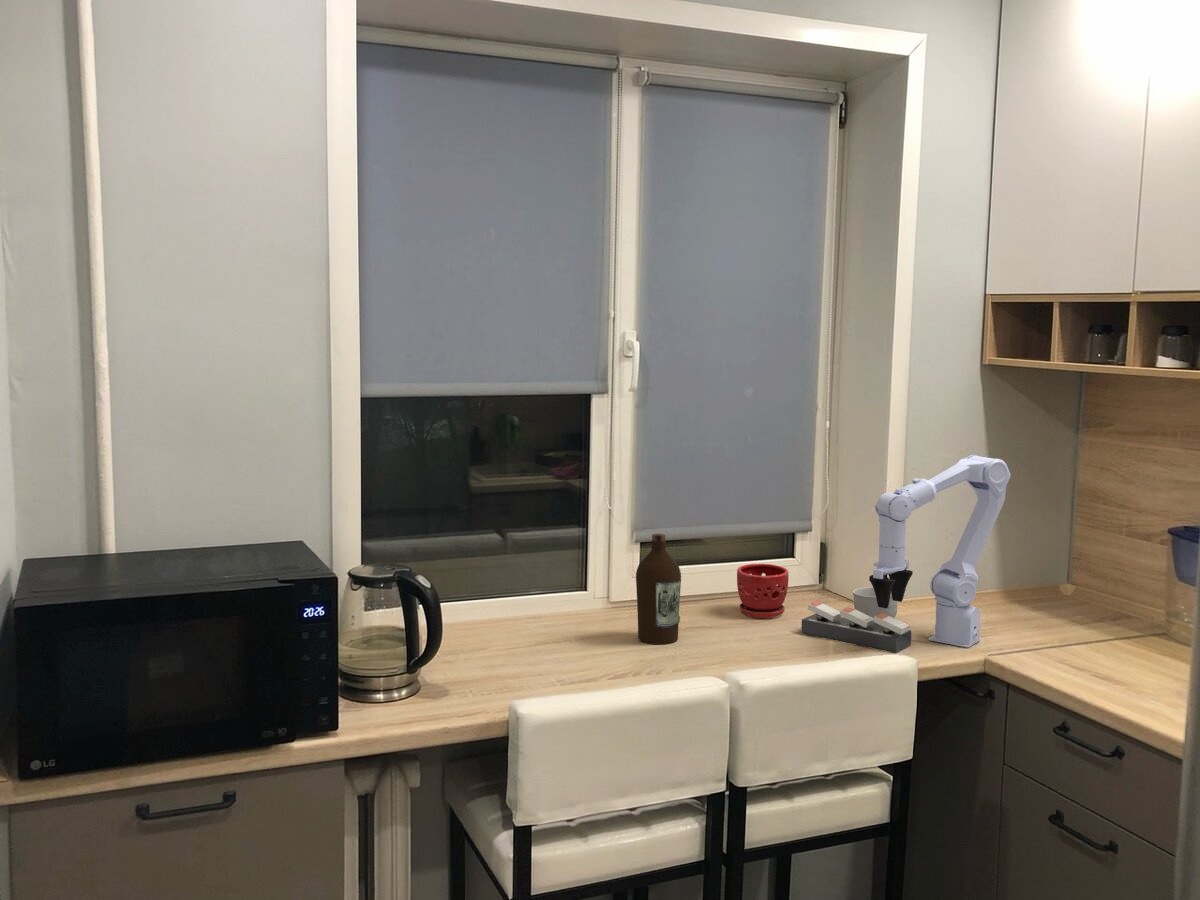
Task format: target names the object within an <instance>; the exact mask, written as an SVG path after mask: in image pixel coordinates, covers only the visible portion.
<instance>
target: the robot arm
mask: <svg viewBox="0 0 1200 900" xmlns="http://www.w3.org/2000/svg"><path fill="white" fill-rule="evenodd" d="M1011 475H1012V474H1011V472H1010V470H1009V468H1008V465H1007V463H1006V462H1005V461H1004V460H1002V459H1001V458H992V457H984V456H979V455H976V454H971V455H968V456H966V457H964V458H961V459H960V460H958V462H957V463H955V464H954V465H952V466H950V467H949V468H947V469H945V470H943V471H941V472H940V473H938V474H936V475H935V476H934V477H932V478H930V479H926V478H923V477H921V478H917V477H915V478H914V479H912V481H911V483H909V484H907V485H905V486H903V487H898V488H895V491H893V492H885V493H883V494H881V495H880V496H879V498H878V499H877V501H876V504H874V510H875V512H876V513H877V515H878V522H879V533H878V535H879V537H878V561H876V562H873V566H874V567H875V568H874V569H873V573H872V575H869V578H868V579H869V582H870V584H871V587H873V588H874V591H875V595H876V599H877V604H878V607H881V608H888V606H889V601H890V594H891V593H892V600H893V601H897V603H902V602H903V599H904V596H905V592H906V589H907V587H908V584H909V581H910V579H911V577H912V576H913V573H914V572H913V571H914V570H909V568H910V567H909V565H910V560H908V559H906V533H907V532H906V527H907V519H908V518H909V517H910V516H911V514H912V513H913V511H916V510H917V509H920V508H921V507H924V506H925V505H927V504H929V503H932V502H933V501H935V499H936V495H937V493H940V492H943V491H944V490H947V489H948V488H949V489H950V488H951V487H954V486H956V485H958V484H960V483H963V482H965V481H966V482H967V484H969V486H970V488H972V489H973V490H974V492H975V494H976V497H977V500H976V503H975V505H974V507H973V510H972V512H971V514H970V516H969V519H968V521H967V523H966V525H965V528H964V530H963V531H962V532H963V533H962V534H961V537H960V539H959V541H958V543H957V546H956V548H955V550H954V552H953V555H952V558H950V559H949V560H948V561H946V562H944V563H942V564H941V566H940V568H939V569H938V571H937V572H936V573H935V574H933V576H932V578H931V580H930V583H929V587H930V591H931V593H932V594H933V595H934V600H935V601H936V602H935V626H934V627H935V628H934V630H935V631H934V634H933V635H932V636H930V637H928V638H927V639H928V640H929V641H932V642H937V643H942V644H948V645H952V646H956V647H957V646H958V647H963V648H970V647H971V646H973V645H975V644H976V643H978V642H980V641H981V638H980V627H981V626H980V625H981V613H980V612H981V611H980V609H979V607H976V606H972V605H971V603H972V602H973V601H974V600H975V598H976V595H977V586H978V583H979V580H980V579H979V576H978V574H977V571H976V570H975V569H976V567H977V564H978V561H979V559H980V557H981V555H982V553H983V550H984V548H985V546H986V544H987V541H988V540H989V537H990V535H991V533H992V530H993V527H994V526H995V524H996V521H997V520H998V517H999V515H1000V512H1001V510H1002V508H1003V506H1004V503H1005V500H1006V492H1007V485H1008V483H1009V481H1010V479H1011V477H1012V476H1011Z"/></svg>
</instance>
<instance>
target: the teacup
mask: <svg viewBox="0 0 1200 900" xmlns="http://www.w3.org/2000/svg"><path fill="white" fill-rule="evenodd" d="M852 595H853V597H852V598H853V609H855V610H857V611H859V612H861V613H864V614H866V615H868V616H870V617H872V618H874V616H876V615H878V614H880V613H885V614H887V615H889V616H891V617H893V618H895V617H896V616H897V614H898V601H893V600H892V593H891V594H890V601H889V606H888V608H881V607H878V604H877V599H876V595H875V591H874V588H873V586H865V587H859V588H856V589H853V591H852ZM874 624H877V623H875V622H874Z"/></svg>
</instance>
